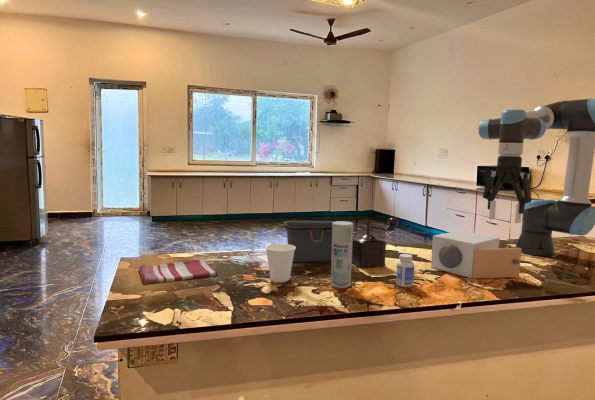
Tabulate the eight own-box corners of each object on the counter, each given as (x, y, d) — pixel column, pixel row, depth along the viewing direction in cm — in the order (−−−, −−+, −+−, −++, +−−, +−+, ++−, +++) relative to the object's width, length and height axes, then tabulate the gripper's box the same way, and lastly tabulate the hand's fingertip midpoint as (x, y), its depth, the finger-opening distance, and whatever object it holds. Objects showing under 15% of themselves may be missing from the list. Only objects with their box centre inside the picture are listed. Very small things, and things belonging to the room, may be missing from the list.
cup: (299, 277, 142) (299, 245, 141) (288, 286, 133) (289, 252, 131) (271, 274, 145) (272, 242, 144) (259, 282, 136) (260, 248, 135)
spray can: (351, 282, 138) (354, 221, 136) (350, 288, 132) (352, 225, 129) (331, 280, 139) (333, 220, 137) (329, 287, 133) (331, 224, 130)
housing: (457, 260, 169) (459, 230, 168) (497, 269, 157) (499, 237, 155) (428, 268, 157) (430, 236, 155) (468, 279, 144) (471, 244, 143)
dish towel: (138, 271, 146) (138, 264, 146) (205, 264, 157) (205, 257, 156) (144, 286, 131) (143, 278, 131) (218, 277, 142) (218, 270, 141)
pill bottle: (414, 283, 138) (416, 254, 137) (411, 288, 133) (413, 258, 132) (397, 281, 140) (399, 252, 139) (394, 285, 136) (395, 256, 134)
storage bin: (332, 254, 174) (333, 219, 172) (344, 264, 159) (345, 227, 157) (281, 255, 170) (282, 220, 168) (288, 266, 155) (289, 228, 153)
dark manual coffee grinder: (361, 269, 154) (363, 220, 151) (348, 261, 164) (349, 215, 162) (398, 266, 159) (401, 218, 157) (383, 258, 169) (385, 213, 167)
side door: (517, 276, 148) (519, 248, 146) (521, 278, 145) (523, 249, 144) (471, 277, 145) (474, 248, 144) (475, 279, 143) (477, 250, 142)
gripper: (475, 154, 151) (470, 217, 154) (537, 156, 135) (531, 226, 138) (485, 154, 156) (480, 215, 159) (547, 156, 140) (541, 224, 143)
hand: (504, 220), depth 148 cm, fingers open, 8 cm apart
